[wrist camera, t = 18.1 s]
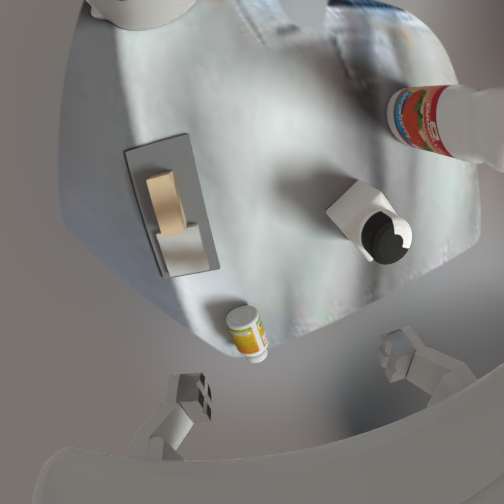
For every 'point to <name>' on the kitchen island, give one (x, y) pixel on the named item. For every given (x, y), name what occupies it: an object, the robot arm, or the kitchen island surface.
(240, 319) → the supplement bottle
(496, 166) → the fruit juice
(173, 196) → the putty knife
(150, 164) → the mat
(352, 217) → the medicine bottle
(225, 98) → the kitchen island surface
